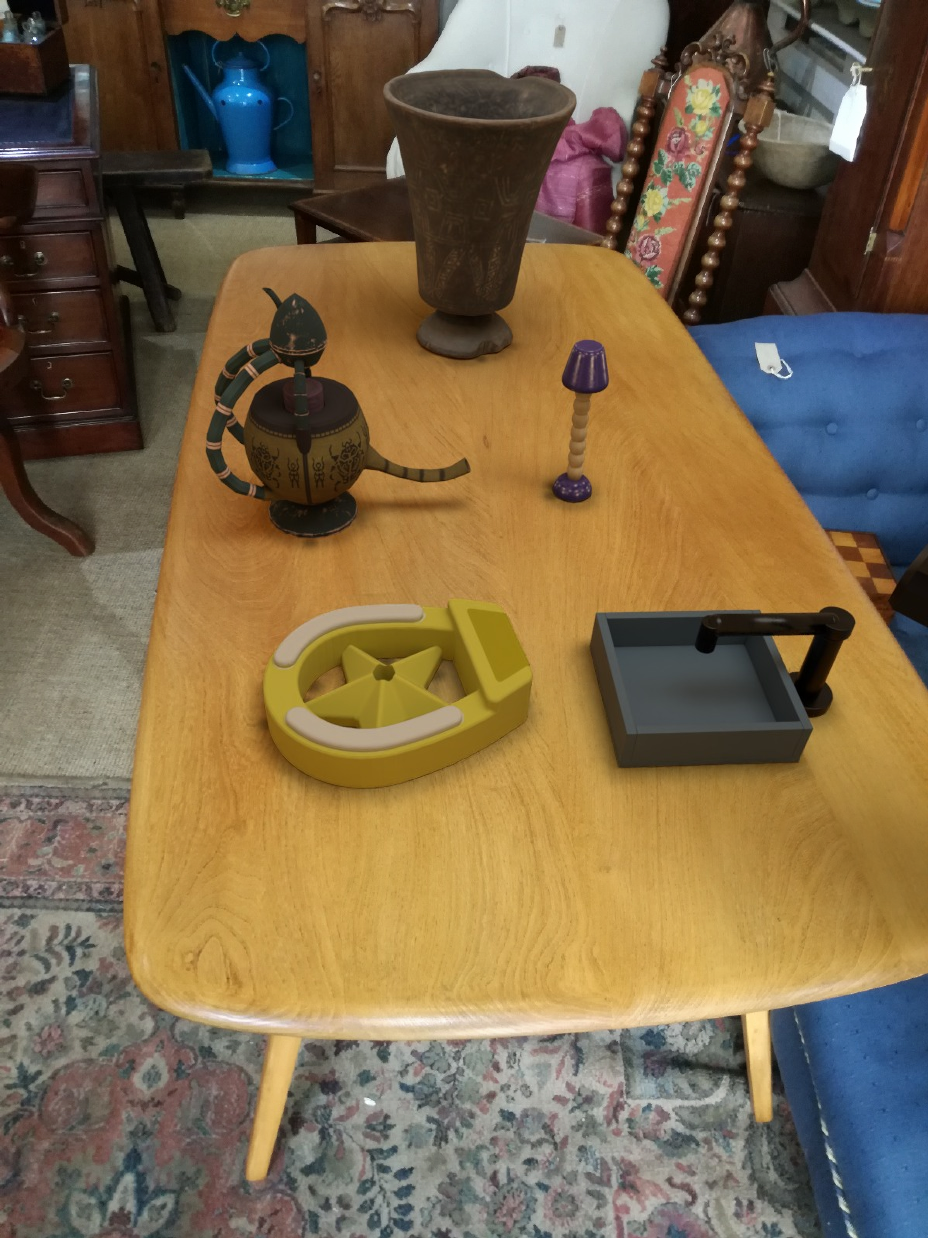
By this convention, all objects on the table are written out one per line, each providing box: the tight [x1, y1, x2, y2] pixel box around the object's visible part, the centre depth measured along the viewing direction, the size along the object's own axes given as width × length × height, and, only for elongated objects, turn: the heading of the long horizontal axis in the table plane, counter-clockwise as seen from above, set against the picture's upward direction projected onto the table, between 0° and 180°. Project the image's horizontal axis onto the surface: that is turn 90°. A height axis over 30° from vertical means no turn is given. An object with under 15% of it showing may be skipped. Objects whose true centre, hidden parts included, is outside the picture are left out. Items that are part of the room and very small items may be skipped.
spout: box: [695, 605, 857, 654], centre depth 74 cm, size 12×3×3 cm, turn 94°
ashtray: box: [262, 597, 534, 789], centre depth 76 cm, size 16×21×5 cm
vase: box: [382, 68, 578, 359], centre depth 115 cm, size 22×22×30 cm
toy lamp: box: [552, 339, 610, 503], centre depth 95 cm, size 5×5×17 cm
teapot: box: [205, 287, 472, 540], centre depth 88 cm, size 12×25×23 cm, turn 96°
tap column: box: [788, 635, 844, 718], centre depth 77 cm, size 4×4×8 cm
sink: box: [589, 609, 814, 768], centre depth 77 cm, size 15×14×4 cm
